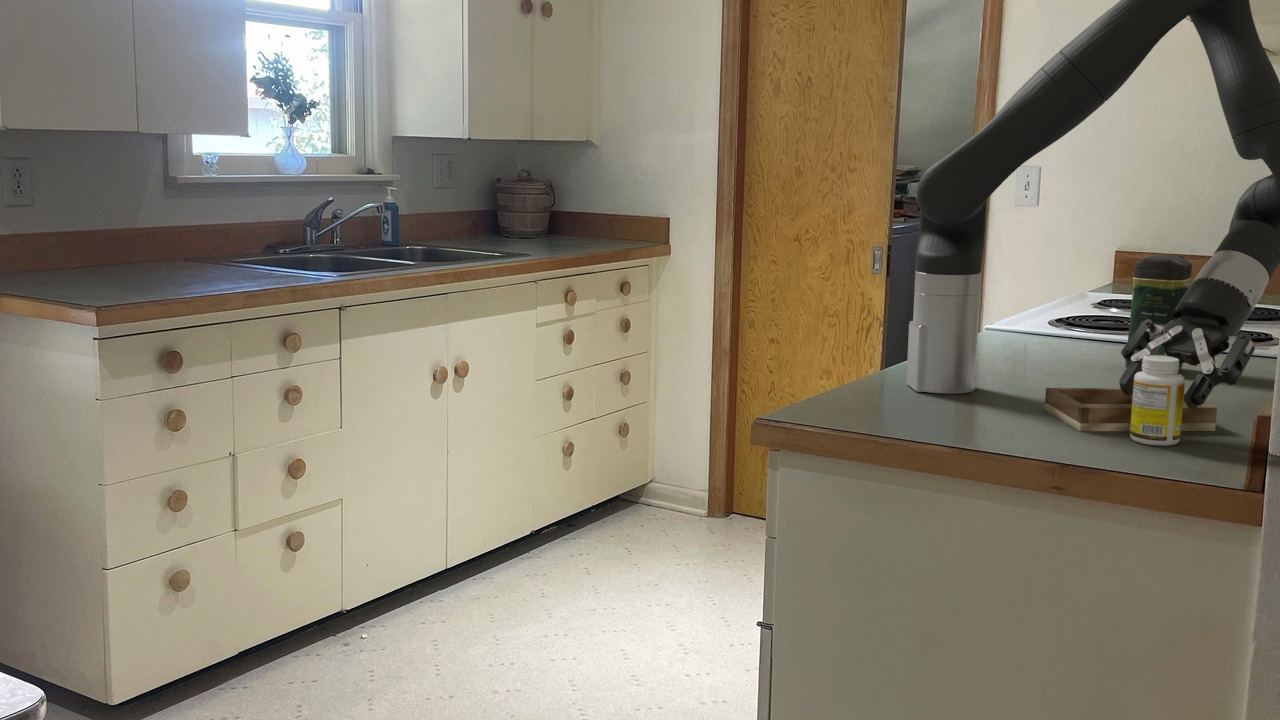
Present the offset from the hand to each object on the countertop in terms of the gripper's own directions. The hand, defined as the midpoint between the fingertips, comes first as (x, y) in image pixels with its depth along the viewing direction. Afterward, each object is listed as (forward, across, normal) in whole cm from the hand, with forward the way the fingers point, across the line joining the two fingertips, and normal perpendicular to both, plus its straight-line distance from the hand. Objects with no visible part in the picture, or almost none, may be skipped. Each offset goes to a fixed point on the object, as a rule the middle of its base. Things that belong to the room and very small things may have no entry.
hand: (1156, 397), depth 135 cm
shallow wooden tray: (-1, -9, +9) cm, 13 cm away
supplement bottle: (+4, 0, +4) cm, 6 cm away
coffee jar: (-25, -28, +33) cm, 50 cm away
